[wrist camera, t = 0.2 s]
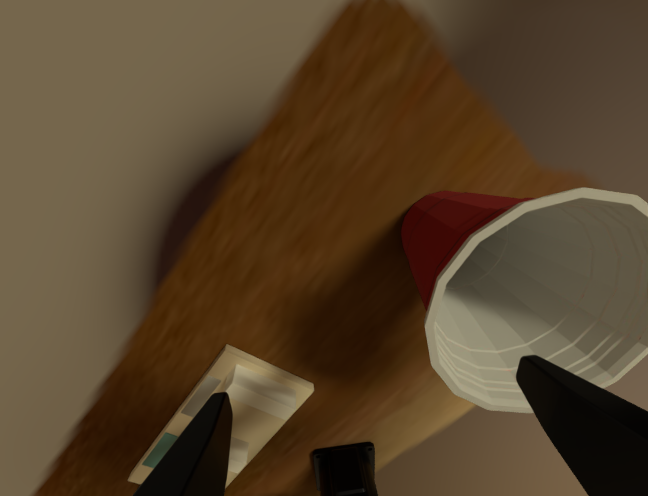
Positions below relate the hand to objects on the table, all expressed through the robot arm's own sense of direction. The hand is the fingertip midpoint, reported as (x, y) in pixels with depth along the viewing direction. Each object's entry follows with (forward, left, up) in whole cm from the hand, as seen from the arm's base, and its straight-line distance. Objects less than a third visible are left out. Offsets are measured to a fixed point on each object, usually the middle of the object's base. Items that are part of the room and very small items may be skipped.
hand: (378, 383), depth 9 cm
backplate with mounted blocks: (-20, +12, -15) cm, 27 cm away
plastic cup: (-1, -8, -15) cm, 17 cm away
